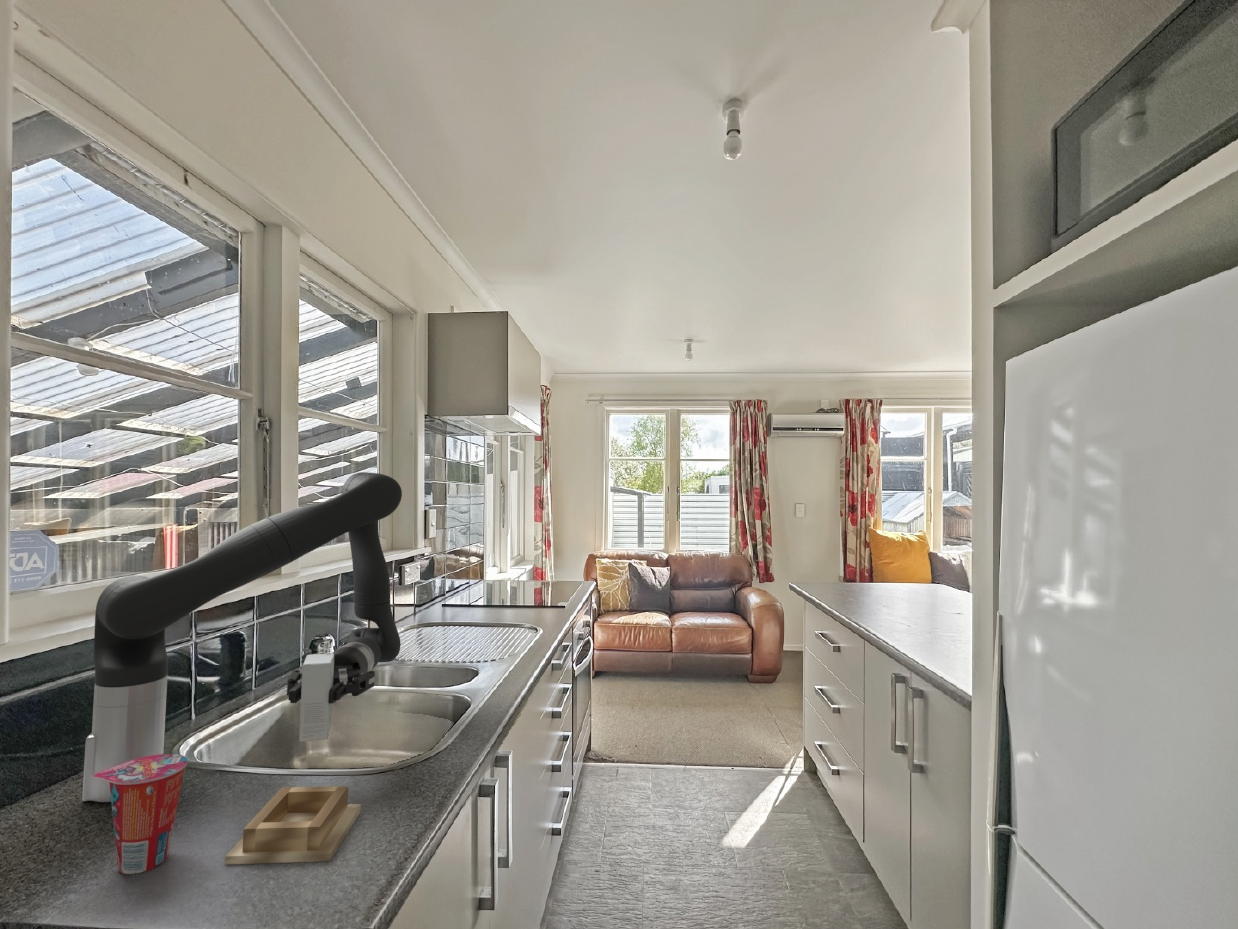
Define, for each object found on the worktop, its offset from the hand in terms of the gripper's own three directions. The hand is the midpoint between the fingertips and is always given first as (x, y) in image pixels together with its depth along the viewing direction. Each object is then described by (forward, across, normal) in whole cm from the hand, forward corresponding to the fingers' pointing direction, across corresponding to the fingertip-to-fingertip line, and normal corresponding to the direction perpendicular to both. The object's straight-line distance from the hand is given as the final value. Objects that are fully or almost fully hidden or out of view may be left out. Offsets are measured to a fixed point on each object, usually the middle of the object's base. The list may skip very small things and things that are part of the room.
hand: (312, 697), depth 99 cm
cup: (+16, -15, +16) cm, 27 cm away
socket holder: (+10, +3, +16) cm, 19 cm away
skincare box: (-3, 0, +7) cm, 7 cm away
